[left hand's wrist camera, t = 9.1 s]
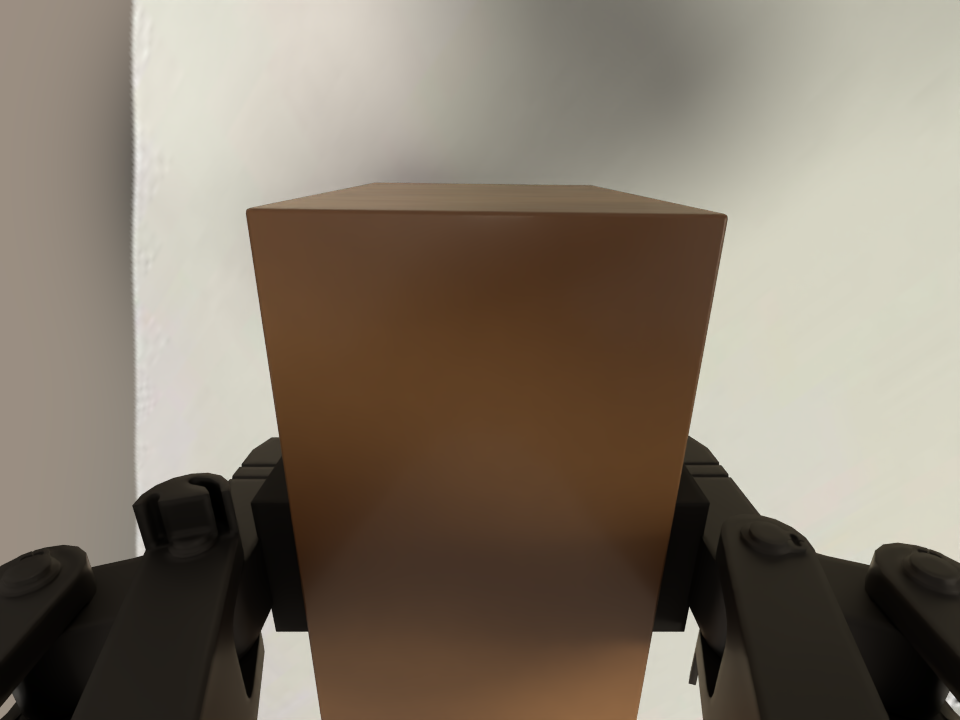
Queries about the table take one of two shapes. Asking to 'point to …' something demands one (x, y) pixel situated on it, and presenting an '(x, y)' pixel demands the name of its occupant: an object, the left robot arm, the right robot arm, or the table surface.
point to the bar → (482, 436)
